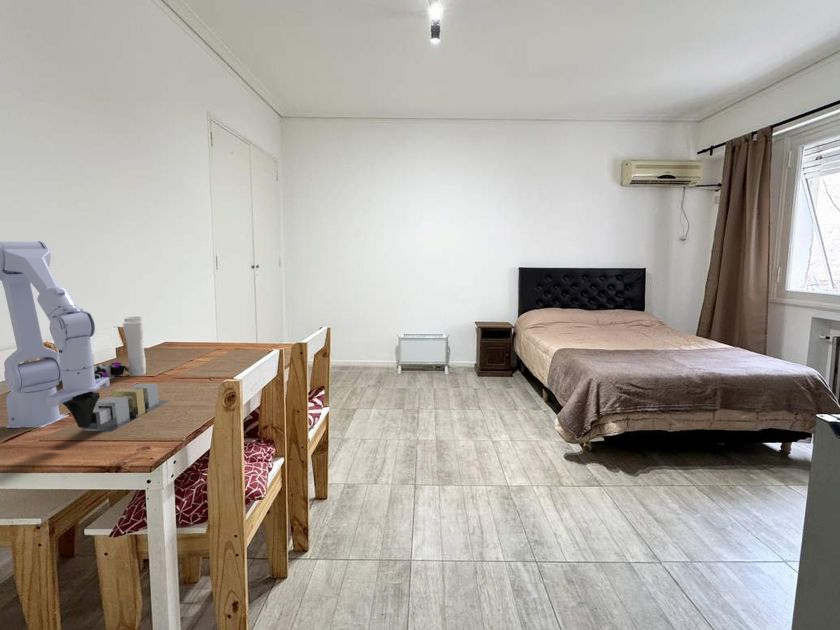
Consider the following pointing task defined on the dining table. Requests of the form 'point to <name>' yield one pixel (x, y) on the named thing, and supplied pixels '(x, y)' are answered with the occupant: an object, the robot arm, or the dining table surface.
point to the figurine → (109, 371)
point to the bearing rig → (122, 409)
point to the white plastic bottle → (135, 345)
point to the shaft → (105, 414)
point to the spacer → (136, 398)
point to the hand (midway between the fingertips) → (84, 426)
